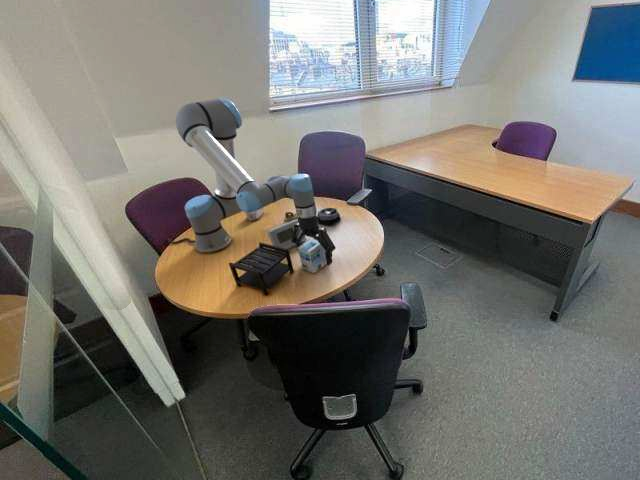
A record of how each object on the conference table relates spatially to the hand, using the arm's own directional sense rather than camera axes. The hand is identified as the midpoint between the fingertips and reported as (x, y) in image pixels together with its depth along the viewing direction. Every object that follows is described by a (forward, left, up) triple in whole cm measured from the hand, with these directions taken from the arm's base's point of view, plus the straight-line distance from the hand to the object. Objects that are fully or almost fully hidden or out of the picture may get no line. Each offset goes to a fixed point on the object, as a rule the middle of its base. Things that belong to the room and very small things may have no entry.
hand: (316, 260), depth 129 cm
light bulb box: (0, 0, -3) cm, 3 cm away
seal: (-34, +31, -3) cm, 46 cm away
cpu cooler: (-17, +35, -3) cm, 39 cm away
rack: (-14, -15, -2) cm, 21 cm away
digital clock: (-21, +8, -3) cm, 23 cm away
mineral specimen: (-59, +24, -3) cm, 64 cm away
